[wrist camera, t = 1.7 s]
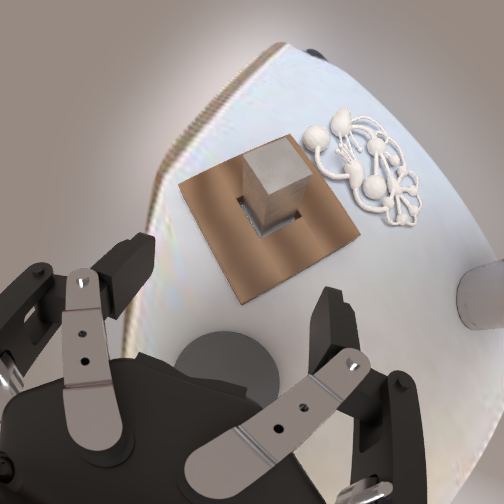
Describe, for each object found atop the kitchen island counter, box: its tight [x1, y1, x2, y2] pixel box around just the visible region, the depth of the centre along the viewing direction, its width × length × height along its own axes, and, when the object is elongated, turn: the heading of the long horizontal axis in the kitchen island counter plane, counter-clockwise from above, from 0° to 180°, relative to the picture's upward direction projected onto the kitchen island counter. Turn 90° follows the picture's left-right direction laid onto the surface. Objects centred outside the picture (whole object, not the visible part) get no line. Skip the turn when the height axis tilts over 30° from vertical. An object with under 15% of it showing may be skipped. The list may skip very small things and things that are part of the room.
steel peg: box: [243, 137, 313, 238], centre depth 30 cm, size 4×4×12 cm
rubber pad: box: [174, 332, 279, 408], centre depth 30 cm, size 12×12×1 cm
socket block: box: [178, 134, 361, 305], centre depth 34 cm, size 16×16×2 cm
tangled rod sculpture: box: [303, 108, 422, 226], centre depth 36 cm, size 19×14×4 cm
